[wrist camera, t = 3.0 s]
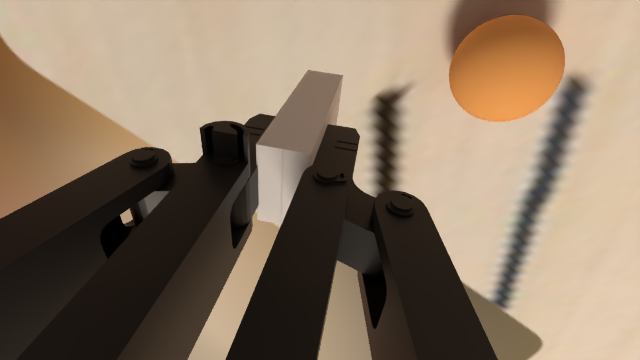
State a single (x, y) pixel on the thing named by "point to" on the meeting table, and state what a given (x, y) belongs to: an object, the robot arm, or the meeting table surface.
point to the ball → (507, 68)
